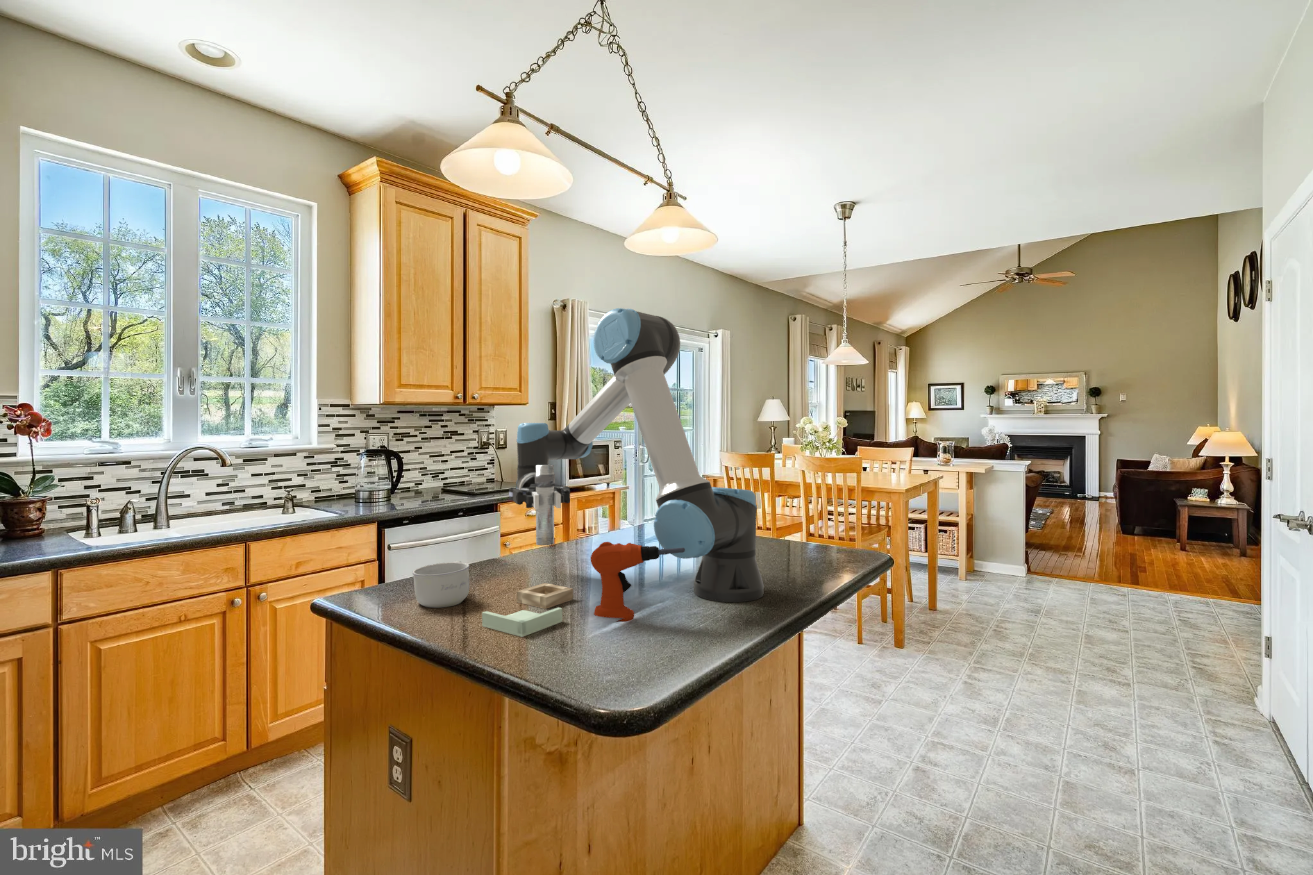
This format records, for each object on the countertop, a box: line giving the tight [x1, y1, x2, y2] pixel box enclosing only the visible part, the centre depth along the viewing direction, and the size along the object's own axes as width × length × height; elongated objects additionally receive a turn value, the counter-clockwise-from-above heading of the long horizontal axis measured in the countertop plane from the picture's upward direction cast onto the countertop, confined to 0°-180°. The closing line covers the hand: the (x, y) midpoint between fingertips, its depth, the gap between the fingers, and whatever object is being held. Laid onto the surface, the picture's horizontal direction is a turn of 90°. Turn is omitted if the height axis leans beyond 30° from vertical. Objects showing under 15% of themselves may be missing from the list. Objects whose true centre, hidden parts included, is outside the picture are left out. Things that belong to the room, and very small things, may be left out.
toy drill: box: [590, 541, 685, 623], centre depth 117 cm, size 5×19×15 cm, turn 82°
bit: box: [535, 464, 556, 546], centre depth 126 cm, size 4×4×16 cm
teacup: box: [412, 560, 470, 609], centre depth 127 cm, size 14×11×8 cm
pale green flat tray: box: [481, 607, 563, 638], centre depth 112 cm, size 10×10×3 cm
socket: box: [516, 582, 574, 610], centre depth 127 cm, size 8×8×3 cm
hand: (547, 501), depth 121 cm, fingers closed on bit, 3 cm apart
